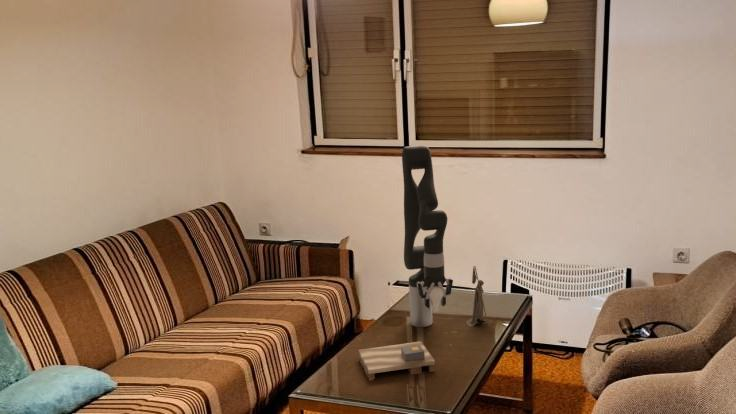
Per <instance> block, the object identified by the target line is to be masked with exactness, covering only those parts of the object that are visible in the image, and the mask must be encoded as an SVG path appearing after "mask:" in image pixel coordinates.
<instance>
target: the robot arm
mask: <svg viewBox="0 0 736 414" xmlns="http://www.w3.org/2000/svg"><path fill="white" fill-rule="evenodd" d="M401 162H402V177H403V219H404V244H403V263H404V266H405V268H406V269H407V270H408V271H409V270H413V271H414V270H418V272H416V273H414V274H412V275H411V276H409V278H408V293H409V294H408V295H409V300H408V301H409V316H410V318H409V319H410V325H411V326H413V327H416V328H425V327H429V326H432V324H433V311H432V306H431V301H430V299H429V294H430V293H431V291H432V289H433V287H435V286H438V287H439V288H441V289H442V290H443V292H444V294H443V297H442V299H441V301H440V306H442V307H445V306H446V304H447V296H449V295H452V288H453V282H454V280H453V279H452V278H451V277H447V278H446V276H445V275H446V273H445V255H444V237H445V232H446V229H447V224H448V215H447V213H446V212H445V210H436V209H437V208H438V207H439V201H438V196H437V193H436V187H435V181H434V180H435V179H434V170H433V169H434V168H433V159H432V153H431V149H430V148H429V146H428V145H410V146H409V145H408V146H403V148H402V153H401ZM413 170H424V172H423V175H422V177H421V179H420V181H419V183H418V184H417V183H416V181H415V179H414V177H413V174H412V171H413ZM420 230H422V231H425V232H427V231H434V232H433V234H429V235H426V236H425V237H424V238H423V245H416V246H415V240H416V237H417V235H418V234H419V232H420ZM445 283H446V287H445V289H444V287H443V286H444V284H445ZM428 289H429V290H428Z"/></svg>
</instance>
